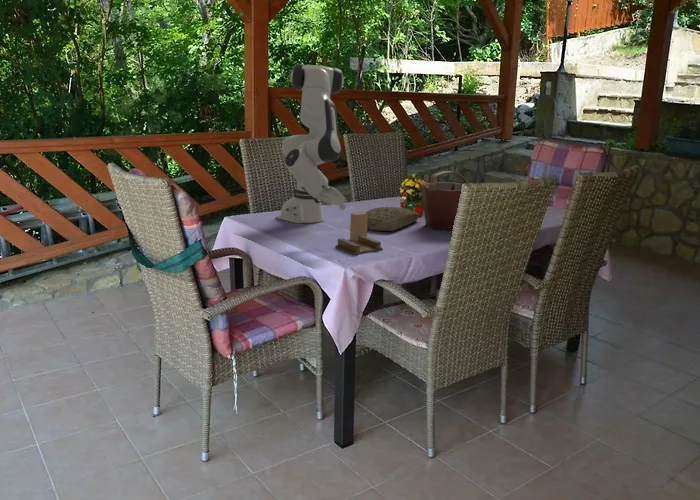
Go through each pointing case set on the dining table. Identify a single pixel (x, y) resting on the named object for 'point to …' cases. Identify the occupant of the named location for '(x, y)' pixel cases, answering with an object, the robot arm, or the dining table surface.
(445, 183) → the bucket
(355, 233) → the clay block
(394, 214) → the stone tablet
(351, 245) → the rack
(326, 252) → the dining table surface
